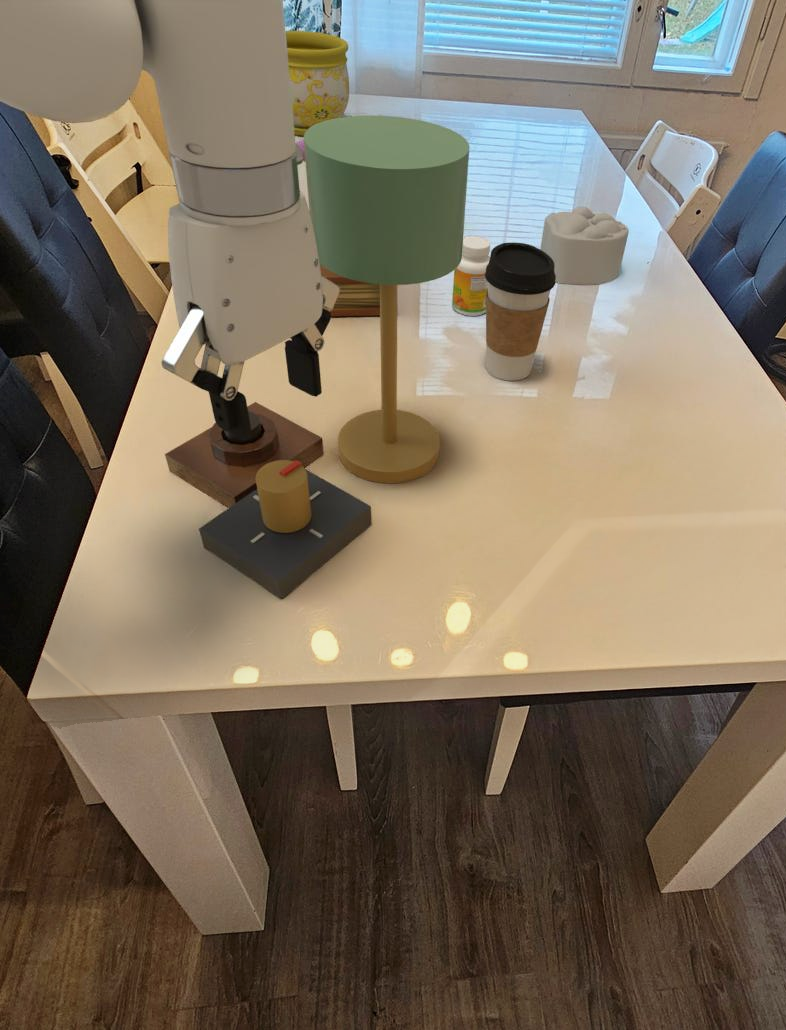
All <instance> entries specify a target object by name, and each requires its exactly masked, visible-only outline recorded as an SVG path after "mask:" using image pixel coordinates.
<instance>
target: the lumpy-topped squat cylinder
mask: <svg viewBox="0 0 786 1030" xmlns="http://www.w3.org/2000/svg"><path fill="white" fill-rule="evenodd" d="M628 236H629V228H628V226H627V225H625V224H624V223H623V222H622V221H619V220H616V219H615V218H614V217H613V216H612V215H611V214H609V213H607V212H599V213H594V212H593V211H592V210H591V209H590V208H588V207H587V206H578V207H575V208H574V209H573V210H572V211H571V212H570V211H558V212H554V213H551V214H548V215H547V216H546V217H544V223H543V229H542V236H541V243H540V248H539V249H540V250H542V251H543V252H545V253H546V254H548V255H549V256H550V257H551V258H552V260H553V261H554V273H555V275H556V280H555V281H556V282H555V283H558V284H563V285H577V286H579V285H581V286H592V285H593V286H594V285H595V286H596V285H602V284H606V283H609V282H613V281H614V280H616V279H617V278H618V277H619V276H620V271H621V268H622V264H623V263H622V262H623V258H624V255H625V250H626V245H627V242H628Z"/></svg>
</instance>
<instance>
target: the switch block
mask: <svg viewBox="0 0 786 1030" xmlns="http://www.w3.org/2000/svg"><path fill="white" fill-rule="evenodd" d="M247 408H248V411H249V412H253V413H255V414H256V415H258V417H259V419H260V424H261V430H262V436H261V438H260V439H259V440H257V441H256V442H254V443H250V444H245V445H237V444H230V443H229V442H228V441H227V440H226V439H225V434H224V430H223V429H221V428H220V427H219V426H218V425H217V423H216V422H214V423H213V425H212V426H211V427H209V428H208V429H206V430H204V431H202V432H200V433H199V434H197V435H196V436H194V437H192V438H190V439H189V440H187V441H185V442H184V443H181V444H180V445H178V446H176V447H175V448H172V449H171V450H169V451H168V452H166V453H164V457H165V461H166V463H167V466H168V470H169V472H171V473H173V474H174V475H176V476H177V477H179V478H181V479H182V480H184V481H185V482H187V483H188V484H190V485H192V486H193V487H194V488H196V489H198V490H200V491H201V492H203V493H204V494H206V495H208V496H209V497H211V498H212V499H214V500H216V501H217V502H219V503H220V504H222V505H224V506H226V507H227V509H228V508H230V507H231V506H233V505H234V504H236V503H237V502H239V501H240V500H241V499H243V498H244V497H246V496H247V495H249V494H250V493H252V492H253V491H255V490H256V489H257V485H256V474H257V472H258V471H259V469H260V468H261V467H263V466H264V465H266V464H268V463H270V462H274V461H279V460H289V461H296V460H297V461H299V462H301V465H302V466H303V467H304V468H306V467H307V466H309V465H310V464H311V463H313V462H314V461H315V460H317V459H318V458H320V457H321V456H323V455H324V442H323V437H321V436H320V435H318V434H317V433H314V432H313V431H310V430H309V429H306V428H305V427H303V426H301V425H299V424H297V423H295V422H294V421H292V420H290V419H288V418H286V417H285V416H283V415H281V414H279V413H277V412H275V411H273V410H271V409H270V408H268V407H266V406H265V405H262V404H260V403H259V402H257V401H255V402H253V403H250V404H249V405H247Z"/></svg>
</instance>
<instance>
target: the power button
mask: <svg viewBox="0 0 786 1030" xmlns="http://www.w3.org/2000/svg"><path fill="white" fill-rule="evenodd" d="M248 414H249V419H250V425H251V431H252V434H251V437H250V438H248V439H247V440H242V439H241V438H239V437H237V436H235V435H233V434H232V433H230V432H228V431H225V430H224V434H225V439H226V440H227V441H228V442H229V443H230V444H237V445H245V444H250V443H254V442H256V441H257V440H259V439H260V438H261V436H262V430H261V424H260V419H259V417H258V415H256V414H255V413H253V412H249V411H248Z"/></svg>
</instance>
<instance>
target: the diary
mask: <svg viewBox="0 0 786 1030" xmlns="http://www.w3.org/2000/svg"><path fill="white" fill-rule="evenodd" d="M309 213H310V211H309ZM320 270H321V275H322V276H324V277H325V278H327V279H328V280H330V281H332V282H333V283H335V284H336V285H338V286H339V288H340V293H339V295H338V298H337V300H336V302H335V305H334V307H333V309H332V310H330V313H331V317H356V316H357V317H360V316H364V317H365V316H380V284H372V283H365V282H360V281H356V280H352V279H349V278H345V277H343V276H340V275H337V274H335V273H333V272H331V271H329V270H328V269H326V268H325V267H323V266H322V265H321V264H320Z"/></svg>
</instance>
